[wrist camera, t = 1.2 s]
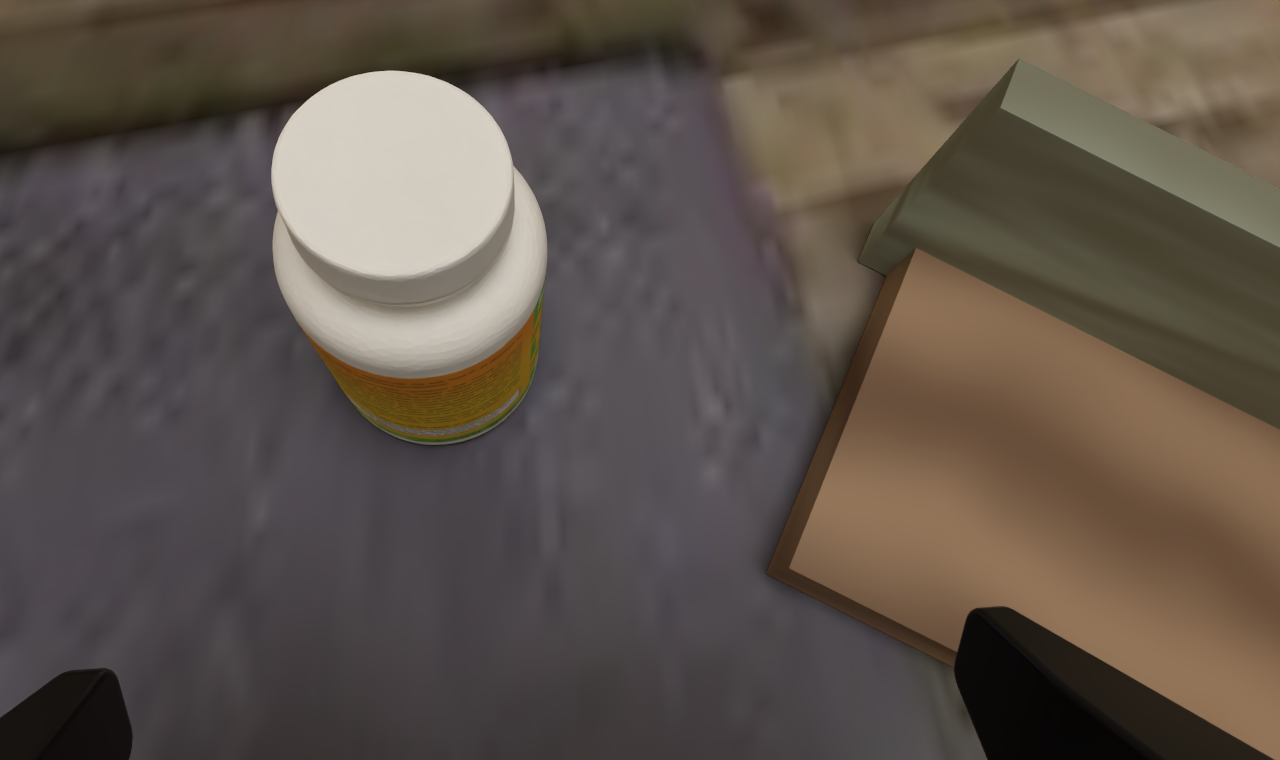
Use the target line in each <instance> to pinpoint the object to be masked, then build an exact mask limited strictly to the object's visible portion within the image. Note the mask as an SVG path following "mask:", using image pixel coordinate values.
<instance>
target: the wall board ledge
mask: <svg viewBox="0 0 1280 760" xmlns="http://www.w3.org/2000/svg"><path fill="white" fill-rule="evenodd" d="M858 262H859V263H861V264H863V265H865V266H867V267H869V268H871V269H873V270H875V271H877V272H879V273H881V274H883V275H885V276H886V279H885V281H884V284H883V286H882V289H881V291H880V294H879V296H878V298H877V301H876V303H875V306H874V308H873V311H872V313H871V316H870V318H869V321H868V323H867V326H866V328H865V331H864V333H863V335H862V338H861V340H860V343H859V345H858V348H857V350H856V353H855V355H854V358H853V360H852V363H851V365H850V368H849V370H848V372H847V375H846V377H845V380H844V382H843V385H842V387H841V390H840V392H839V395H838V397H837V400H836V402H835V404H834V407H833V409H832V412H831V414H830V417H829V419H828V422H827V424H826V427H825V429H824V432H823V434H822V437H821V439H820V441H819V444H818V446H817V449H816V451H815V454H814V456H813V459H812V461H811V464H810V466H809V469H808V471H807V474H806V476H805V478H804V481H803V483H802V486H801V488H800V491H799V493H798V496H797V498H796V501H795V503H794V506H793V508H792V511H791V513H790V515H789V518H788V520H787V523H786V525H785V528H784V530H783V533H782V535H781V538H780V540H779V543H778V545H777V548H776V550H775V552H774V555H773V557H772V560H771V562H770V565H769V567H768V570H767V572H766V574H767V575H769V576H771V577H773V578H775V579H777V580H779V581H781V582H783V583H785V584H787V585H789V586H791V587H793V588H795V589H797V590H799V591H801V592H803V593H805V594H807V595H809V596H811V597H813V598H815V599H817V600H819V601H821V602H823V603H825V604H827V605H829V606H831V607H833V608H835V609H837V610H839V611H841V612H843V613H845V614H847V615H849V616H851V617H853V618H855V619H857V620H859V621H861V622H863V623H865V624H867V625H869V626H871V627H873V628H875V629H877V630H879V631H881V632H883V633H885V634H887V635H889V636H891V637H893V638H895V639H897V640H899V641H901V642H903V643H905V644H907V645H909V646H911V647H913V648H915V649H917V650H919V651H921V652H923V653H925V654H927V655H929V656H931V657H933V658H935V659H937V660H939V661H941V662H943V663H945V664H947V665H949V666H951V667H954V664H955V658H956V655H957V651H958V647H959V643H960V639H961V636H962V632H963V628H964V624H965V621H966V617H967V615H968V614H969V612H970V611H971V610H972V609H975V608H979V607H993V606H1006V607H1009V608H1011V609H1013V610H1015V611H1017V612H1019V613H1020V614H1022V615H1024V616H1025V617H1027V618H1029V619H1031V620H1032V621H1034V622H1036V623H1038V624H1039V625H1041V626H1043V627H1045V628H1046V629H1048V630H1050V631H1052V632H1053V633H1055V634H1057V635H1059V636H1060V637H1062V638H1064V639H1066V640H1067V641H1069V642H1071V643H1072V644H1074V645H1076V646H1078V647H1079V648H1081V649H1083V650H1085V651H1086V652H1088V653H1090V654H1092V655H1093V656H1095V657H1097V658H1099V659H1100V660H1102V661H1104V662H1106V663H1107V664H1109V665H1111V666H1113V667H1114V668H1116V669H1118V670H1119V671H1121V672H1123V673H1125V674H1126V675H1128V676H1130V677H1132V678H1133V679H1135V680H1137V681H1139V682H1140V683H1142V684H1144V685H1146V686H1147V687H1149V688H1151V689H1153V690H1154V691H1156V692H1158V693H1160V694H1161V695H1163V696H1165V697H1166V698H1168V699H1170V700H1172V701H1173V702H1175V703H1177V704H1179V705H1180V706H1182V707H1184V708H1186V709H1187V710H1189V711H1191V712H1193V713H1194V714H1196V715H1198V716H1200V717H1201V718H1203V719H1205V720H1207V721H1208V722H1210V723H1212V724H1213V725H1215V726H1217V727H1219V728H1220V729H1222V730H1224V731H1226V732H1227V733H1229V734H1231V735H1233V736H1234V737H1236V738H1238V739H1240V740H1241V741H1243V742H1245V743H1247V744H1248V745H1250V746H1252V747H1254V748H1255V749H1257V750H1259V751H1260V752H1262V753H1264V754H1266V755H1267V756H1269V757H1271V758H1273V759H1274V760H1280V189H1279V188H1277V187H1275V186H1273V185H1271V184H1269V183H1267V182H1265V181H1263V180H1261V179H1259V178H1257V177H1255V176H1253V175H1251V174H1249V173H1247V172H1245V171H1243V170H1241V169H1239V168H1237V167H1235V166H1233V165H1231V164H1229V163H1227V162H1225V161H1223V160H1221V159H1219V158H1217V157H1215V156H1213V155H1211V154H1209V153H1207V152H1205V151H1203V150H1201V149H1199V148H1197V147H1195V146H1193V145H1191V144H1189V143H1187V142H1185V141H1183V140H1181V139H1179V138H1177V137H1175V136H1173V135H1171V134H1169V133H1167V132H1165V131H1163V130H1161V129H1159V128H1157V127H1155V126H1153V125H1151V124H1149V123H1147V122H1145V121H1143V120H1141V119H1139V118H1137V117H1135V116H1133V115H1131V114H1129V113H1127V112H1125V111H1123V110H1121V109H1119V108H1117V107H1115V106H1113V105H1111V104H1109V103H1107V102H1105V101H1103V100H1101V99H1099V98H1097V97H1095V96H1093V95H1091V94H1089V93H1087V92H1085V91H1083V90H1081V89H1079V88H1077V87H1075V86H1073V85H1071V84H1069V83H1067V82H1065V81H1063V80H1061V79H1059V78H1057V77H1055V76H1053V75H1052V74H1050V73H1048V72H1046V71H1044V70H1042V69H1040V68H1038V67H1036V66H1034V65H1032V64H1030V63H1028V62H1026V61H1024V60H1022V59H1020V58H1019V59H1018V60H1017V61H1016V63H1015V64H1014V65H1013V66H1012V67H1011V68H1010V69H1009V71H1008V72H1007V73H1006V74H1005V75H1004V76H1003V77H1002V78H1001V80H1000V81H999V82H998V83H997V84H996V85H995V86H994V88H993V89H992V90H991V91H990V92H989V93H988V94H987V95H986V97H985V98H984V99H983V100H982V101H981V102H980V103H979V105H978V106H977V107H976V108H975V109H974V110H973V111H972V113H971V114H970V115H969V116H968V117H967V118H966V119H965V120H964V122H963V123H962V124H961V125H960V126H959V127H958V128H957V130H956V131H955V132H954V133H953V134H952V135H951V136H950V138H949V139H948V140H947V141H946V142H945V143H944V144H943V145H942V147H941V148H940V149H939V150H938V151H937V152H936V153H935V155H934V156H933V157H932V158H931V159H930V160H929V161H928V162H927V164H926V165H925V166H924V167H923V168H922V169H921V170H920V172H919V173H918V174H917V175H916V176H915V177H914V178H913V180H912V181H911V182H910V183H909V184H908V185H907V186H906V187H905V189H904V190H903V191H902V192H901V193H900V194H899V195H898V197H897V198H896V199H895V200H894V201H893V202H892V203H891V205H890V206H889V207H888V208H887V209H886V210H885V211H884V212H883V214H882V215H881V216H880V217H879V218H878V219H877V220H876V222H875V223H874V224H873V227H872V229H871V231H870V234H869V236H868V238H867V241H866V243H865V245H864V248H863V250H862V253H861V255H860V257H859V260H858Z"/></svg>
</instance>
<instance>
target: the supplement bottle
mask: <svg viewBox="0 0 1280 760" xmlns="http://www.w3.org/2000/svg"><path fill="white" fill-rule="evenodd" d="M271 181H272V189H273V195H274V199H275V203H276V206H277V209H278V213H277V217H276V221H275V226H274V232H273V261H274V268H275V274H276V277H277V281H278V284H279V287H280V289H281V292H282V294H283V296H284V299H285V301H286V303H287V305H288V307H289V308H290V310H291V312H292V314H293V316H294V317H295V319H296V321H297V322H298V324H299V325H300V327H301V329H302V330H303V332H304V333H305V335H306V336H307V337H308V339H309V340H310V342H311V343H312V345H313V346H314V348H315V349H316V351H317V352H318V354H319V355H320V357H321V358H322V360H323V361H324V363H325V364H326V365H327V367H328V368H329V370H330V371H331V373H332V375H333V376H334V378H335V379H336V381H337V382H338V384H339V385H340V387H341V388H342V390H343V391H344V393H345V394H346V396H347V397H348V398H349V400H350V401H351V403H352V404H353V405H354V406H355V407H356V408H357V410H358V411H359V412H360V413H361V414H362V415H363V416H364V417H365V418H366V419H368V420H369V421H370V422H371V423H372V424H374V425H375V426H376V427H378V428H379V429H381V430H383V431H385V432H386V433H388V434H390V435H392V436H394V437H397V438H399V439H402V440H406V441H409V442H414V443H419V444H426V445H442V444H452V443H457V442H462V441H466V440H469V439H472V438H475V437H477V436H480V435H482V434H484V433H486V432H488V431H489V430H491V429H493V428H494V427H496V426H497V425H499V424H500V423H501V422H502V421H504V420H505V419H506V418H507V417H508V416H509V415H510V414H511V413H512V412H513V411H514V410H515V409H516V408H517V407H518V405H519V404H520V403H521V401H522V400H523V398H524V397H525V395H526V393H527V391H528V389H529V388H530V386H531V383H532V380H533V377H534V374H535V370H536V366H537V362H538V355H539V342H540V329H541V319H542V306H543V296H544V286H545V278H546V269H547V237H546V230H545V225H544V220H543V217H542V213H541V210H540V207H539V205H538V203H537V200H536V198H535V196H534V194H533V192H532V191H531V189H530V187H529V185H528V184H527V182H526V181H525V180H524V178H523V177H522V175H521V174H520V173H519V172H518V171H517V169H516V168H515V167H514V166H513V162H512V158H511V154H510V150H509V147H508V144H507V141H506V139H505V137H504V135H503V133H502V131H501V129H500V128H499V126H498V125H497V123H496V122H495V120H494V119H493V118H492V116H491V115H490V114H489V113H488V112H487V111H486V110H485V109H484V107H483V106H481V105H480V104H479V103H478V102H477V101H476V100H475V99H474V98H472V97H471V96H470V95H468V94H467V93H465V92H464V91H462V90H460V89H459V88H457V87H455V86H453V85H451V84H449V83H447V82H445V81H442V80H439V79H436V78H433V77H430V76H426V75H422V74H417V73H411V72H403V71H381V72H370V73H365V74H360V75H356V76H352V77H349V78H346V79H343V80H341V81H338V82H336V83H334V84H332V85H330V86H328V87H326V88H324V89H323V90H321V91H319V92H318V93H317V94H315V95H314V96H312V97H311V98H310V99H309V100H307V101H306V102H305V103H304V104H303V105H302V106H301V107H300V108H299V109H298V110H297V111H296V112H295V113H294V114H293V115H292V117H291V118H290V120H289V121H288V123H287V124H286V126H285V127H284V129H283V131H282V133H281V135H280V137H279V139H278V142H277V144H276V147H275V151H274V154H273V161H272V168H271Z"/></svg>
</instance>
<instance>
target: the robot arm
mask: <svg viewBox="0 0 1280 760" xmlns="http://www.w3.org/2000/svg"><path fill="white" fill-rule="evenodd" d="M954 673H955V679H956V683H957V686H958V689H959V691H960V693H961V696H962V698H963V701H964V703H965V706H966V708H967V711H968V713H969V716H970V718H971V720H972V723H973V725H974V728H975V730H976V733H977V735H978V738H979V740H980V742H981V745H982V747H983V750H984V752H985V755H986V757H987V760H1274V759H1273V758H1271V757H1269V756H1267V755H1266V754H1264V753H1262V752H1260V751H1259V750H1257V749H1255V748H1254V747H1252V746H1250V745H1248V744H1247V743H1245V742H1243V741H1241V740H1240V739H1238V738H1236V737H1234V736H1233V735H1231V734H1229V733H1227V732H1226V731H1224V730H1222V729H1220V728H1219V727H1217V726H1215V725H1213V724H1212V723H1210V722H1208V721H1207V720H1205V719H1203V718H1201V717H1200V716H1198V715H1196V714H1194V713H1193V712H1191V711H1189V710H1187V709H1186V708H1184V707H1182V706H1180V705H1179V704H1177V703H1175V702H1173V701H1172V700H1170V699H1168V698H1166V697H1165V696H1163V695H1161V694H1160V693H1158V692H1156V691H1154V690H1153V689H1151V688H1149V687H1147V686H1146V685H1144V684H1142V683H1140V682H1139V681H1137V680H1135V679H1133V678H1132V677H1130V676H1128V675H1126V674H1125V673H1123V672H1121V671H1119V670H1118V669H1116V668H1114V667H1113V666H1111V665H1109V664H1107V663H1106V662H1104V661H1102V660H1100V659H1099V658H1097V657H1095V656H1093V655H1092V654H1090V653H1088V652H1086V651H1085V650H1083V649H1081V648H1079V647H1078V646H1076V645H1074V644H1072V643H1071V642H1069V641H1067V640H1066V639H1064V638H1062V637H1060V636H1059V635H1057V634H1055V633H1053V632H1052V631H1050V630H1048V629H1046V628H1045V627H1043V626H1041V625H1039V624H1038V623H1036V622H1034V621H1032V620H1031V619H1029V618H1027V617H1025V616H1024V615H1022V614H1020V613H1019V612H1017V611H1015V610H1013V609H1011V608H1009V607H1006V606H993V607H979V608H975V609H972V610H971V611H970V612H969V614H968V615H967V617H966V621H965V624H964V628H963V632H962V636H961V639H960V643H959V647H958V651H957V655H956V658H955V664H954ZM131 748H132V728H131V724H130V720H129V717H128V713H127V709H126V706H125V702H124V699H123V695H122V691H121V688H120V684H119V681H118V678H117V676H116V674H115V673H114V672H113V671H112V670H110V669H106V668H99V669H84V670H71V671H67V672H64V673H62V674H60V675H58V676H57V677H55V678H54V679H53V680H51V681H50V682H48V683H47V684H46V685H44V686H43V687H42V688H40V689H39V690H38V691H36V692H35V693H33V694H32V695H31V696H29V697H28V698H27V699H25V700H24V701H23V702H21V703H20V704H19V705H17V706H16V707H14V708H13V709H12V710H10V711H9V712H8V713H6V714H5V715H4V716H2V717H1V718H0V760H129V758H130V754H131Z"/></svg>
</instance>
